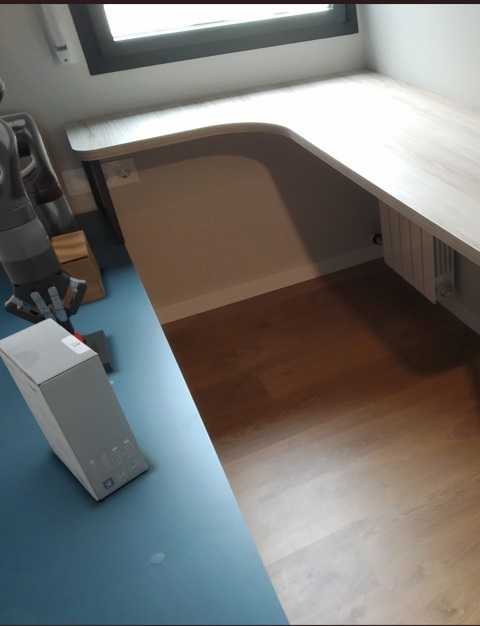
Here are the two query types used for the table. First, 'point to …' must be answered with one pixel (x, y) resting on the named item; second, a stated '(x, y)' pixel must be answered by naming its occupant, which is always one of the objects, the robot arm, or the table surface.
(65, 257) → the flap
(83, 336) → the button block
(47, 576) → the table surface
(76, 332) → the button
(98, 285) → the carton
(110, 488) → the hard drive box
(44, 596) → the table surface
